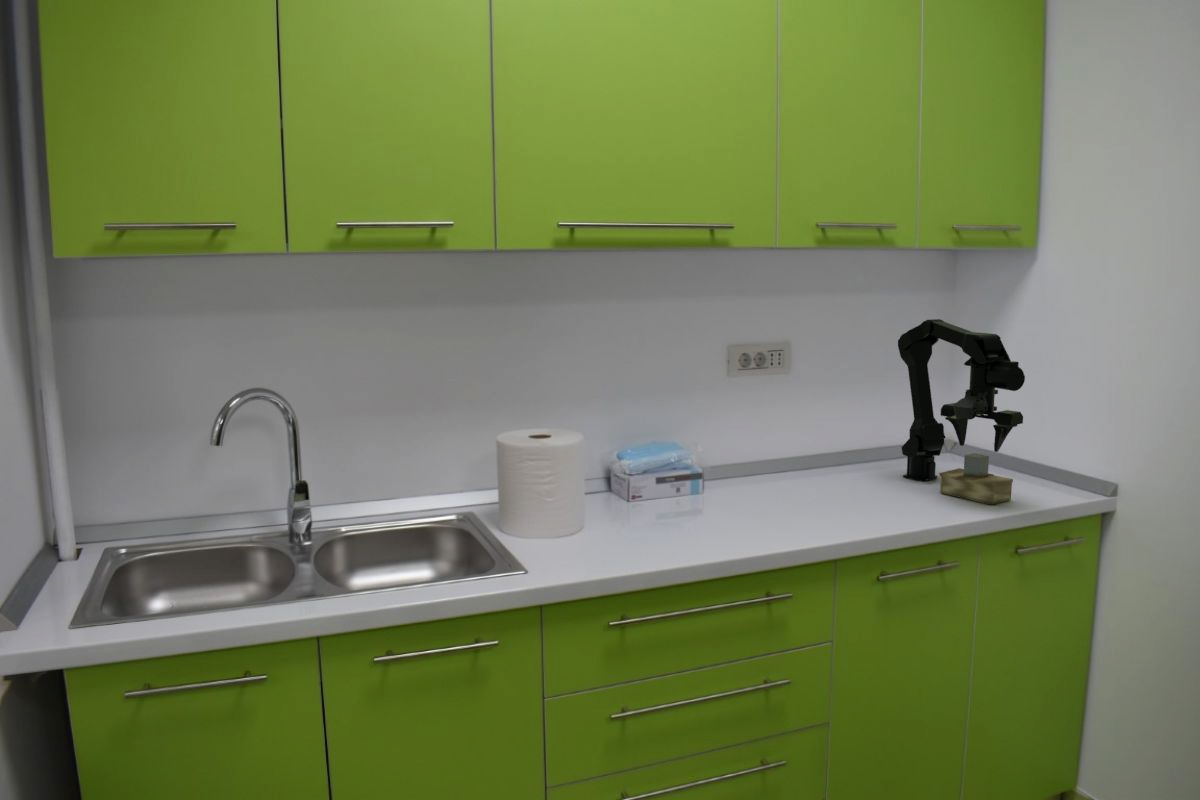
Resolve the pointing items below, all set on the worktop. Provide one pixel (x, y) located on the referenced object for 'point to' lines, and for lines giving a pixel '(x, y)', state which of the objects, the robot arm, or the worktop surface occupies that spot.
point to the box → (976, 491)
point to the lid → (985, 481)
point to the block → (976, 465)
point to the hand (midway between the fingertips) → (978, 448)
